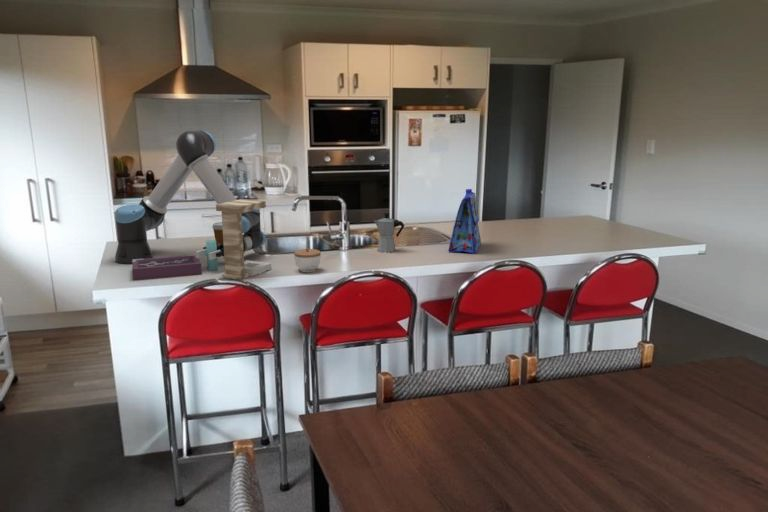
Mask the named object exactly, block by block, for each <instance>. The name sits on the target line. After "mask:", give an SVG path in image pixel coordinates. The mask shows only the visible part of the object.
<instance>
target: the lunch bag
mask: <svg viewBox="0 0 768 512" xmlns="http://www.w3.org/2000/svg"><path fill="white" fill-rule="evenodd" d="M479 221H480V219H479V213H478V205H477V197H476V193H475V192H473V189H472V188H466V189H465V195H464V197H463V198H462V199H461V202H460V204H459V207H458V210H457V213H456V216H455V219H454V224H453V228H452V232H451V237H450V241H449V246H448V253H454V252H455V253H457V252H458V253H459V252H460V253H461V252H465V253H469V254H473V255H475V254H477V251H478V249H479V247H480V246H481V245H482V240H481V239H482V238H481V233H480V227H479Z"/></svg>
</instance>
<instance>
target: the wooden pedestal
mask: <svg viewBox="0 0 768 512" xmlns="http://www.w3.org/2000/svg"><path fill="white" fill-rule="evenodd" d="M266 202H267V201H266V200H255V199H243V198H240V199H236V200H235V201H230V202H225V203H220V204H217V203H216V204H215V211H216V212H221V222H222V228H223V244H224V256H223V259H224V272H223V273H222V274H221V278H224V277H226V279H231V278H236V279H235V280H239V279H241V280H243V279H246V278H249V275H248V274H247V273H245V270H244V261H245V258H244V257H245V253H244V251H243V234H244V233H243V232H242V213H244V212H248V211H253V210H257V209H260V210H262V209H264V208H266V207H267V203H266Z"/></svg>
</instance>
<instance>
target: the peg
mask: <svg viewBox="0 0 768 512" xmlns="http://www.w3.org/2000/svg"><path fill="white" fill-rule="evenodd" d="M205 247H206V249H207V256H206V259H207V260H206V261H207V271H208V272H216V271H218V270H219V266H218V265H219V263H218V258H215V259H212V260H209V253H211V252H214V251H217V245H216V240H215V239H212V240H211V239H210V240H206V241H205Z"/></svg>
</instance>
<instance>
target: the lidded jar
mask: <svg viewBox="0 0 768 512" xmlns="http://www.w3.org/2000/svg"><path fill="white" fill-rule="evenodd" d="M321 252H322V251H320V250H319V249H314V248H309V247H306V248H305V249H304V248H303V249H297V250H295V251H294V253H293V255H294V263H295V265H296V267H297V268H298V269H299V270H300V271H301V272H304V273H312V272H315V271H316V270H317V268H318V267H319V266H320V263H321V254H322V253H321Z"/></svg>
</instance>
